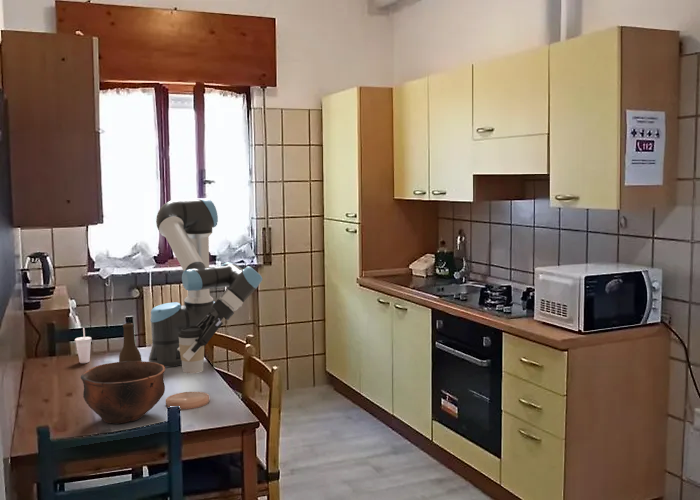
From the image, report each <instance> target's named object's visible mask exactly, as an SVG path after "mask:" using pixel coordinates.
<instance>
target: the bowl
mask: <svg viewBox="0 0 700 500" xmlns="http://www.w3.org/2000/svg"><path fill="white" fill-rule="evenodd" d="M165 372H166V367H164V365H161V364H158V363H155V362H149V361H143V360H142V361H124V362H119V361H116V362H110V363H109V362H108V363H104V364H100V365H96V366H93V367H91V368H89V369H88V370H87V371H85V372H83V373H82V374H81V376H80V379H81V381H82V383H83V394H82V395H83V399H84V401H85V403H86V404H87V405H88V407H89V408H90V409H91V410H92V411H93V412H95V414H97V415H98V416H99V417H100V418H101V420H103V421H104V422H105V423H106V424H107V423H108V424H126V423H129V422H135V421H137V420H139V419H141V418H142V417H144V416H145V415H146V414H147V413H148V412H149V411H150V410H151V409H153V408H154V407H155V406H156V405H157V404H158V402H159V401H160V400H161V399H162V398H163V396H164V394H165V391H166V386H165V379H164V377H165Z"/></svg>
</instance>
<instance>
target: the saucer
mask: <svg viewBox="0 0 700 500" xmlns="http://www.w3.org/2000/svg"><path fill="white" fill-rule="evenodd" d="M210 401H211V399H210V395H209V394H208V393H206V392H203V391H184V392H179V393H174V394H171V395H169V396H168V397H166V398H165V406H166V407H167V408H169V407H170V406H180V408H181V409H180V410H192V409H196V408H197V409H198V408H201V407H204V406H206V405H209V403H210Z"/></svg>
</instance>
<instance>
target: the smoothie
mask: <svg viewBox="0 0 700 500" xmlns="http://www.w3.org/2000/svg"><path fill="white" fill-rule="evenodd" d="M82 332H83V333H82V334H83V336H80V337H76V338H75V339H74V342H75V345H76V349H77V355H78V361H79V363H80V364H86V363H89V362H90V359H91V358H90V357H91V346H92V345H91V342H92V337H91V336H86V330H85V327H83V328H82Z"/></svg>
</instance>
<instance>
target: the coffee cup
mask: <svg viewBox="0 0 700 500" xmlns="http://www.w3.org/2000/svg"><path fill="white" fill-rule="evenodd" d="M202 332H203V330H202V329H201V328H199V327H198V326H191V327H187V328H183V329H181V331H180V332H179V333H178V337H179V347H180V355H181V360H182V365H181V366H182V372H183V373H185V374H197V373H201V372H203V371H204V359H205V346H204V345H203V346H202V347H201V348H200V349H199V350H198V351H197V352H196V353H195V355H194V356H193V357H192V358H191V359H190V360H189V361H188V360H186V359H185V358H184V357H183V354H184V353H185V352H186V351H187V350H188V349H189V348H190V346H191V345H192V344H193V343H194V342H195V339H198V338H199V337H200V335H201V334H202Z"/></svg>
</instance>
